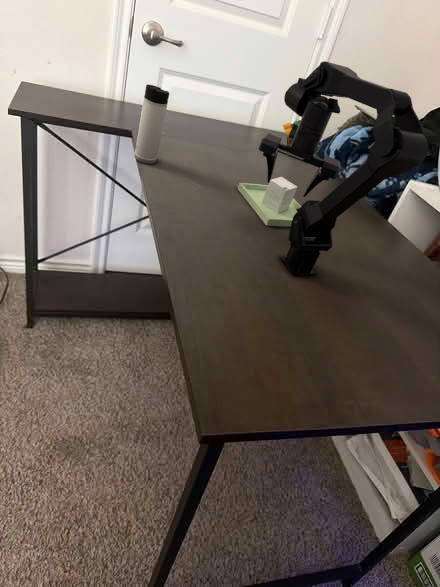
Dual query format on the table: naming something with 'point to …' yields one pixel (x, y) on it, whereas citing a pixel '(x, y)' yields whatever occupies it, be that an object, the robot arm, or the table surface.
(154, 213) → the table surface
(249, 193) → the tray
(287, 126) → the binoculars
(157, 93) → the travel mug
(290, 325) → the table surface
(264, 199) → the product carton
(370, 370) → the table surface
